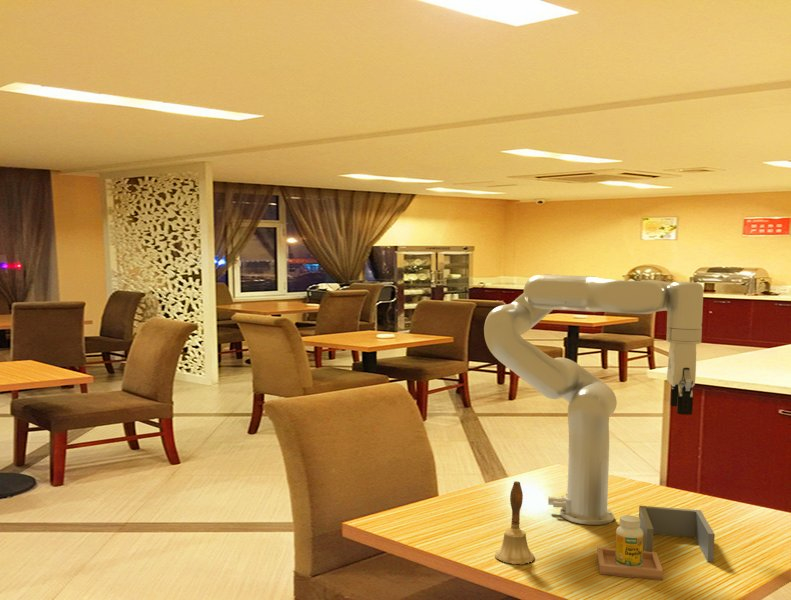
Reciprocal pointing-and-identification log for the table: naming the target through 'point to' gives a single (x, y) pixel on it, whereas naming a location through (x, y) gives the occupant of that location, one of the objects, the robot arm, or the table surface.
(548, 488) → the table surface
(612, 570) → the tray
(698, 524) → the bay
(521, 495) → the hand bell
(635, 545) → the supplement bottle
